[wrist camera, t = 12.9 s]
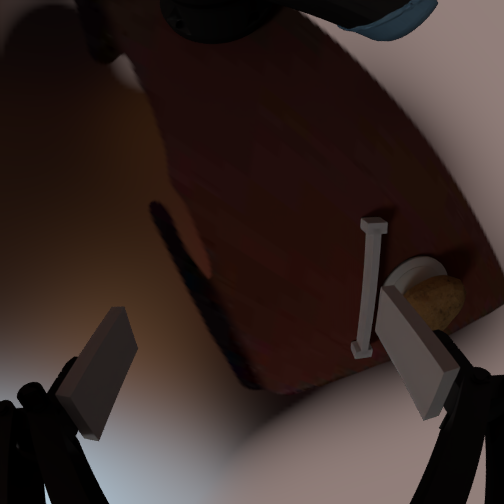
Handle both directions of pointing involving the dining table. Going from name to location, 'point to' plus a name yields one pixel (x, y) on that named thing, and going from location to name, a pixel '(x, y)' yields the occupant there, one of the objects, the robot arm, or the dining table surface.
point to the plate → (413, 273)
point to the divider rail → (369, 284)
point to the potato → (437, 300)
